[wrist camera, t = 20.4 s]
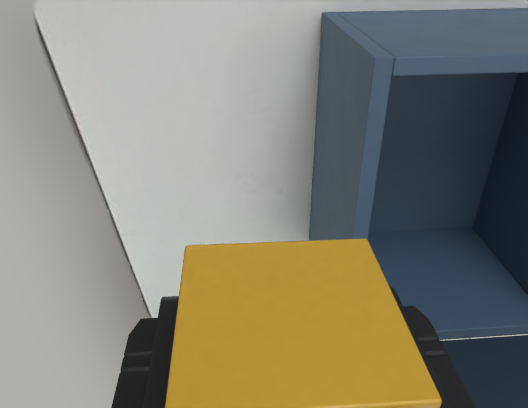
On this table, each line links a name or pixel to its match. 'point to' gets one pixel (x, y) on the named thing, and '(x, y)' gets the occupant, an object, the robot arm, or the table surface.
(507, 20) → the blue storage box
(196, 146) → the table surface
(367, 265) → the block
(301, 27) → the table surface
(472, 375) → the box lid
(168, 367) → the robot arm
